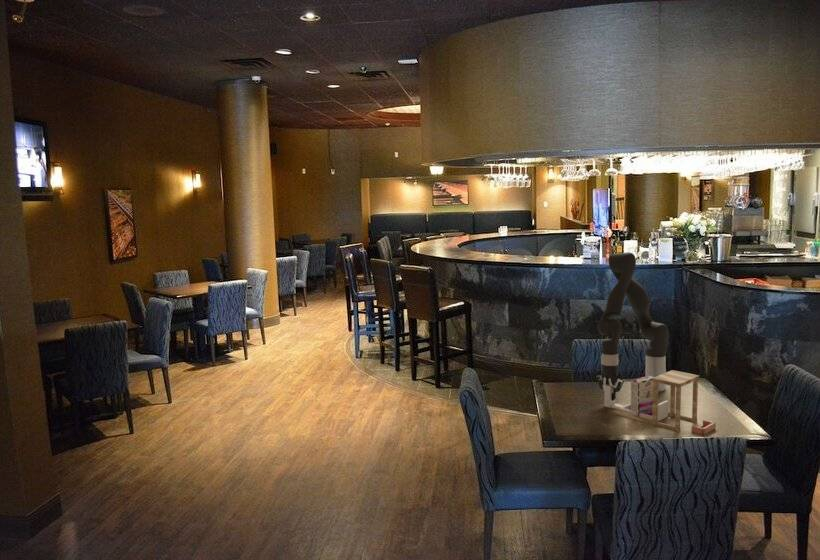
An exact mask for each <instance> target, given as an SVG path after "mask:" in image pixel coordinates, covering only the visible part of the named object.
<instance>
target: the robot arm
mask: <svg viewBox="0 0 820 560" xmlns="http://www.w3.org/2000/svg"><path fill="white" fill-rule="evenodd" d="M608 265H609V269H610V270H611V272H612V274H613V276H614V277H615V279H616V280H617V283H616V284H615V285H614V287H613V288H612V290H611V291H610V292H609V294H608V296H607V301H606V306H605V310H604V312H603V313H602V316H601V318H600V319H599V320H598V321H599V322H598V324H597V331H598V333H599V334H601V335H603V336H612V337H611V339H610V338H609V339H608V338H607V339H604V340H602V342H601V357H600V360H601V363H600V364H601V365H600V368H601V370H600V371H601V374H600V375H597V376H596V377H595V379H596V381H597V385H598V387H599V389H600V390H603V392H604V385H606V384H609V385H610V386H611V393H612V398H611V400H612V401H613V400H615V398H616V394H617V393H619V392H620V391H621V389H622V387H623V385H624V383H625V381H624V380H621V379H620V378H619V361H620V360H619V342H620V337H621V335H622V332H623V324H622V322H621V321H620V320H617V319H612V318H615V317H619V316H621V314H622V312H623V311H622V310H623V307H624V306H623V305H624V301H625V297H626V299H627V302H628V304H629V305H630V308H631V309H632V311H633V313H634V315H635V318H636V320H637V323H638V324H639V328H640V331H641V333H642V336H643V338H645V339H646V340H647V341H651V342H652V343H653V345H652V346H650V347H647V348H646V349H645V372H644V373H645V376H652V377H656V376H659V375H661V374H664V373H666V372H667V368H666V363H667V362H666V358H667V357H666V356H667V355H666V354H667V351H668V346H669V328H668V326H667V325H666V324H664V323H661V322H656V321H654V320H653V318H652V317H651V315H650V312H649V311H650V306H651V300H650V297H649V295H648V292H647V291H646V289H645V287H644V286H643V285H642V284H641V283H639V282H638V281H637V280H636V279H634V278H633V275H634V272H635V269H636V266H637V259H636V256H635V253H632V252H616V253H612V254H610V255H609V257H608ZM645 376H644V377H645ZM613 385H614V386H613ZM666 388H667V387H666V384H661V383H658V393H660V392H664V391H665V390H666Z"/></svg>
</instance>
